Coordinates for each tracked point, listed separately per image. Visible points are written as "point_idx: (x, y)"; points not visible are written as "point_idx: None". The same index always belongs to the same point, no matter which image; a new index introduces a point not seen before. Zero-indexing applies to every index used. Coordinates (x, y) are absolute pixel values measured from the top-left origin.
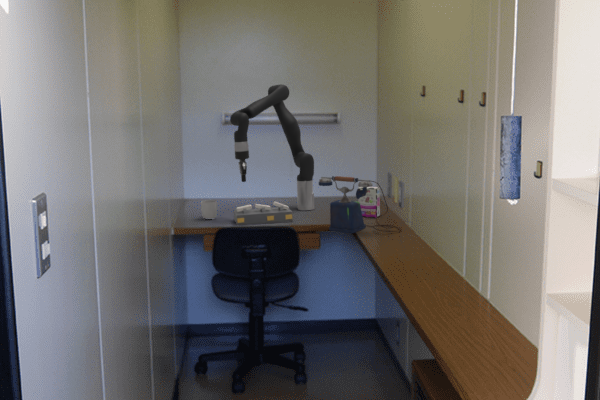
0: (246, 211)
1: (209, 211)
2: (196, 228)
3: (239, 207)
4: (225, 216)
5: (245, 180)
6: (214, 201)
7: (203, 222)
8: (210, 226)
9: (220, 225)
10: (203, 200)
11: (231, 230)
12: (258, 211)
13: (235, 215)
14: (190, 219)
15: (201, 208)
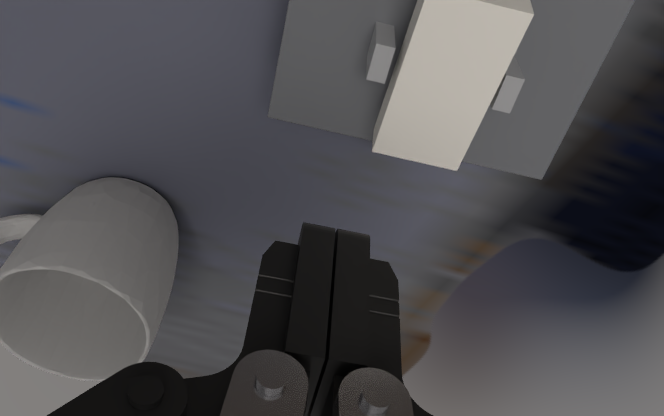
0: (517, 65)
1: (172, 283)
2: (405, 360)
3: (417, 131)
4: (75, 80)
5: (367, 256)
6: (21, 262)
7: (243, 283)
8: (404, 286)
9: (419, 226)
10: (7, 348)
11: (645, 218)
12: None
13: None
14: None
15: (115, 336)
